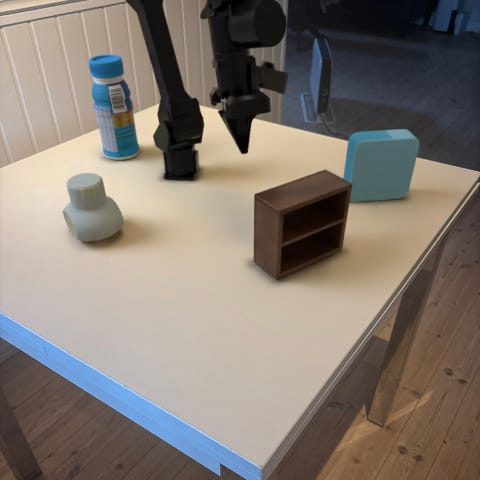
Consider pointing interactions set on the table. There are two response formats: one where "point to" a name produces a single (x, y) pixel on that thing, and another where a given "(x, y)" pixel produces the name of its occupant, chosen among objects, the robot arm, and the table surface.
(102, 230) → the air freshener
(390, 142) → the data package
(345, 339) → the table surface
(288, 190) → the shelf
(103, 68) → the beverage bottle
